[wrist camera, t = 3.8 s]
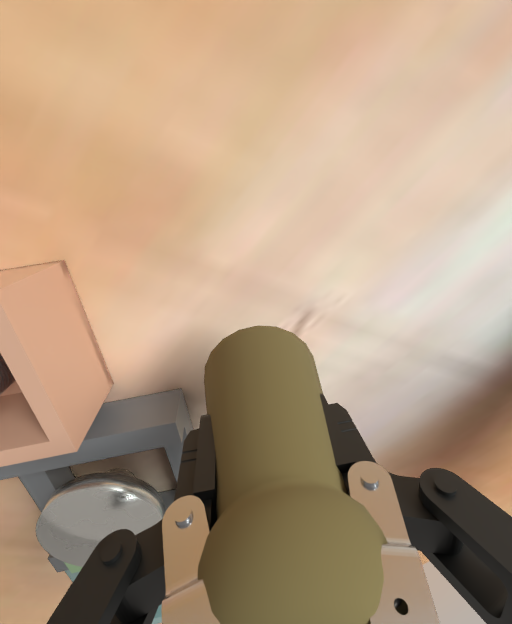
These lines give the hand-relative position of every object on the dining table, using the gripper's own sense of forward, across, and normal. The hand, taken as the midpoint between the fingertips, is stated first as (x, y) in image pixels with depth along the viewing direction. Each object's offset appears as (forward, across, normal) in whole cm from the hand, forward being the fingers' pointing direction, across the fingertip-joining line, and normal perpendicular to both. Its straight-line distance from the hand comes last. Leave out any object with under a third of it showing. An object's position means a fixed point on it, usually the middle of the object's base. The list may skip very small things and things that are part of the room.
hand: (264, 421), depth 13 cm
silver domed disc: (+7, +12, +9) cm, 16 cm away
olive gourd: (+4, 0, 0) cm, 4 cm away
